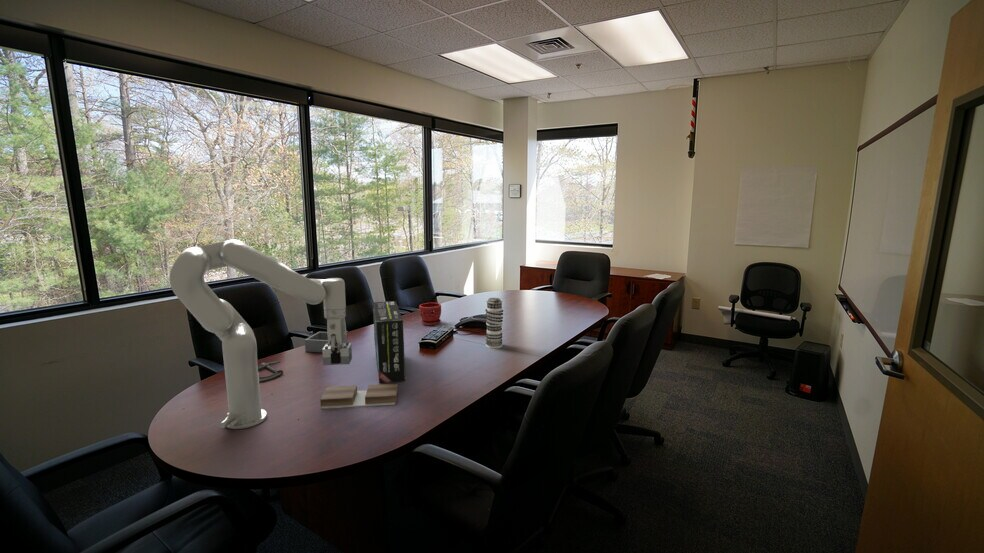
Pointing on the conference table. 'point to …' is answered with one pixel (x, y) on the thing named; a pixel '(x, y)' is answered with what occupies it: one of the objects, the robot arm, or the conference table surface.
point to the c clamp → (267, 365)
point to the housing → (344, 354)
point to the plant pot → (430, 313)
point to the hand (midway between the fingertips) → (337, 359)
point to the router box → (389, 342)
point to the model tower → (494, 323)
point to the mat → (358, 401)
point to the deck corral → (316, 342)
